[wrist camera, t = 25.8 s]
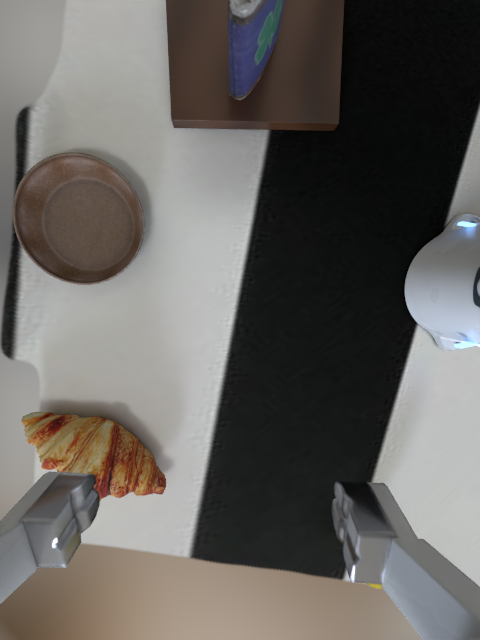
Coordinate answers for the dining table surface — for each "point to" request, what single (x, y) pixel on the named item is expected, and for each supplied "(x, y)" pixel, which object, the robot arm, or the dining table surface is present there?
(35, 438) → the croissant
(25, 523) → the robot arm
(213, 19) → the cutting board
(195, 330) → the dining table surface
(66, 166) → the saucer
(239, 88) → the flask
